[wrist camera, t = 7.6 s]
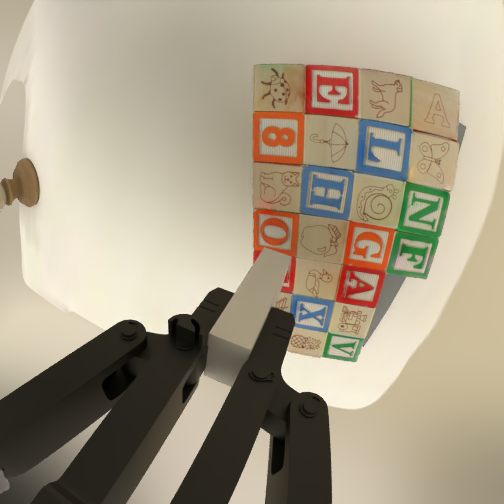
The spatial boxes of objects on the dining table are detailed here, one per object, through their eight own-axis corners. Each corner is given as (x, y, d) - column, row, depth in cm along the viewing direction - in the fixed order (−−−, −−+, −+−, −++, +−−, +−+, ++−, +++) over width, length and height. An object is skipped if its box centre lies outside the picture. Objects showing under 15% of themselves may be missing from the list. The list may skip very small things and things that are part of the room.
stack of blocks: (269, 302, 29) (386, 322, 25) (250, 344, 23) (388, 369, 20) (277, 75, 18) (433, 96, 15) (252, 61, 13) (464, 90, 10)
